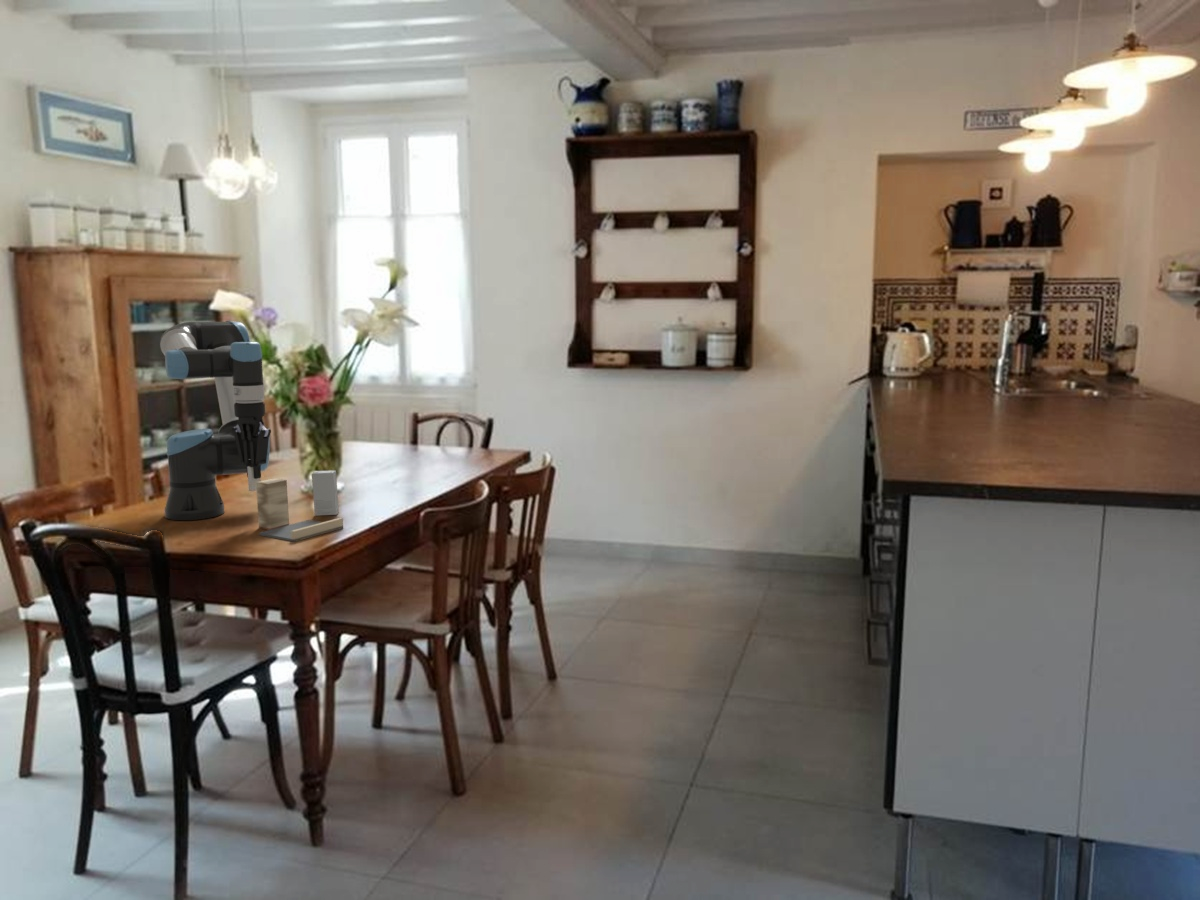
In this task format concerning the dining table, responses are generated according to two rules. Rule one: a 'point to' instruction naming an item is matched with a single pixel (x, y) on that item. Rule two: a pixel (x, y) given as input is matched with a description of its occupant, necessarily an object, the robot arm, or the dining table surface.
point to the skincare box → (325, 493)
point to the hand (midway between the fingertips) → (255, 490)
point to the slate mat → (304, 529)
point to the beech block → (272, 503)
